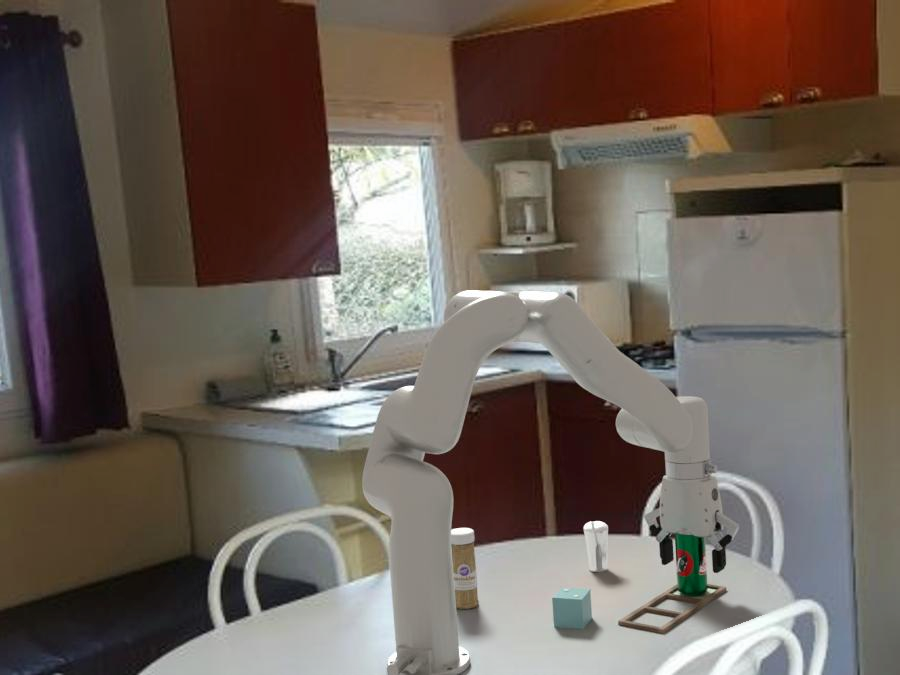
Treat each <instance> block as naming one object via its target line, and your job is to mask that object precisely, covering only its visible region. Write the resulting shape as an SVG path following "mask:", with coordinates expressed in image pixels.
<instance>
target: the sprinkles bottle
mask: <svg viewBox="0 0 900 675" xmlns="http://www.w3.org/2000/svg"><path fill="white" fill-rule="evenodd" d="M475 539H476V538H475V530H474V529H472V528H470V527H458V528H451V547H452V562H453V573H454V586H455V600H456V609H460V610H462V609H463V610H469V609H473V608H475V607H477V606H478V605H479V601H480V600H479V597H478V596H479V595H478V579H477V576H478V575H477V566H476V565H477V563H476V556H475Z"/></svg>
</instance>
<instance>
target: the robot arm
mask: <svg viewBox="0 0 900 675" xmlns="http://www.w3.org/2000/svg"><path fill="white" fill-rule="evenodd" d="M443 321H444V323H442V324H441V326H439V327H438V329H437V330H436V331H435V333H434V334H433V335H432V337H431V338H430V341H429V342H428V344H427V346H426V349H425V351H424V354H423V358H422V360H421V362H420V367H419V369H418V372H417V376H416V380H415V383H414V385H407V386H402V387H399V388H397V389H396V390H393V392H391V393H390V394H389V395H388V396H387V397H386V399H385V400H384V401H383V403H382V404H381V406H380V409H379V411H378V414H377V418H376V422H375V424H374V428H373V432H372V436H371V439H370V442H369V447H368V449H367V450H368V451H367V455H366V458H365V463H364V468H363V472H362V480H361V488H362V491H363V492H362V493H363V496H364V498H365V499H366V501H367V502H368V503H369V505H371V507H373V509H375V510H377V511H379V512H381V513H382V514H384V515H386V516H388V517H390V518H391V519H390V520H391V526H390V533H389V540H388V562H389V565H388V566H389V574H390V587H391V588H390V589H391V597H392V598H391V600H392V612H393V623H394V625H393V626H394V637H395V650H396V651H395V652H394V653H393V654H392V655H390V656H389V658H388V659H387V662H386V664H387V667H386V673H387V675H459V674H461V673H463V672H465V671H466V670H467V669H468V668H469V666H470V664H471V656H470V653H469V651H468V650H467V649H465V648H464V647H462V646H460V643H459V641H460V640H459V630H458V629H459V628H458V615H457V608H456V600H455V586H454V573H453V562H452V547H451V530H452V521H453V512H454V492H453V491H454V490H453V488H452V485H451V483H450V480H449V479H448V477H447V476H446V474H444V473H443V472H442V471H441V470H440V469H439V468H438V467H436V466H434V465H433V464H431V463H429V462H426V461H424V459H425V455H426V454H431V455H442V454H445V453H447V452H449V451H451V450H452V449H453V448H454V447H456V444H457V443H458V442H459V440H460V437H461V434H462V430H463V426H464V422H465V419H466V415H467V410H468V407H469V402H470V399H471V395H472V391H473V387H474V384H475V381H476V378H477V375H478V373H479V370H480V369H481V366H482V364H483V362H484V361H485V360H486V359H487V358H488V357H489V356H490V355H491V354H492V353H494V351H496V350H497V349H499V348H501V347H504V346H506V345H509V344H512V343H533V344H534V343H535V344H541V345H542V346H543V347H544V348H546V350H547V351H548V352H549V354H550V355H552V357H553V358H554V359H555V360H556V361H557V362H558V363H559V364H560V365H561V366H562V367H563V368H564V370H565V371H566V372H567V373H568V374H569V376H570V377H571V378H572V379H573V380H574V381H575V382H576V383H577V384H578V385H579V386H580V387H581V388H583V390H586V391H588V393H591V394H592V395H594V396H595V397H598V398H600V399H603V400H604V401H607V402H609V403H612V404H614V405H616V406H617V407H619V408H621V409H620V410H619V412H618V413H617V415H616V418H615V428H616V432H617V434H618V435H619V436H620V438H621V439H622V440H623V441H625V442H626V443H629V444H632V445H635V446H638V447H642V448H647V449H650V450H656V451H661V452H664V463H665V464H664V465H665V467H664V468H665V475H663V477H662V481H661V486H660V496H659V507H658V508H656V509H654V510H651V511H650V512H648V513H645V514H644V516H643V518H644V520H645V521H646V523H647V525H648V527H649V528H648V529H649V531H650V532H651V533H652V535H653V536H654V537H655V540H656V542H657V543H659V544H658V545H659V558H660V559H661V565H662V566H666V565H668V564H670V563H672V562H673V561H674V558H675V557H674V541H673V538H671V535H675V533H676V532H677V531H679V530H680V528H686V529H688V531H689V532H691V533H692V534H693V535H694V536H696V537H701V538H705V539H707V540H708V541H709V542H710V544H711V545H712V546H713V548H714V549H712V550H711V562H712V563H711V565H712V573H714V574H719V573H720V572H721V571H723V570H724V569H725V567H726V566H727V552H726V548H727V547H728V545H729V544H730V543H732V541H734V540H735V537H736V535H737V533H738V532H739V529H740V524H739V523H737V522H735V521H734V520H733V519H731V518H730V517H728V516H727V515H725V514H724V513H723V505H722V504H723V503H722V498H721V497H722V496H721V493H720V488H719V485H718V481H717V478H716V476H715V475H714V476H713V475H712V474H716V473H718V465H716V464H713V463H712V459H711V456H710V455H711V453H710V432H709V431H710V430H709V414H708V413H709V412H708V403H707V402H706V401H705V400H704V399H703V398H701V397H699V396H689V395H688V396H684V395H683V396H675V395H674V393H673V392H672V391H671V390H670V389H669V388H668V387H667V386H666V385H665V384H664V383H663V382H662V381H661V380H659V379H658V378H657V377H655V376H654V375H653V374H651V373H650V372H649V371H647V370H646V369H645V368H644V367H641V366H640V365H639V364H638V363H637V362H635V361H634V360H633V359H631V358H630V357H628V356H627V355H625V354H624V353H623V352H621V351H620V350H619V348H617V347H616V346H615V344H614V343H613V342H612V341H611V340H610V339H609V338H608V336H606V334H605V333H604V332H603V331H602V330H601V329H600V327H599V326H598V325H597V324H596V322H595V321H594V320H593V319H592V317H590V315H589V314H588V313H587V312H586V311H585V310H584V309H583V307H582V306H581V305H580V304H579V303H578V302H577V301H576V300H575V299H574V298H573V297H571V296H570V295H568V294H566V293H563V292H559V291H558V292H556V291H538V290H537V291H535V290H534V291H533V290H532V291H531V290H528V291H526V290H525V291H499V290H464V291H460V292H459V293H456V294H455V295H453V297H451V299H450V300H449V301H448V303H447V304H446V305H445V308H444V312H443ZM658 517H659V523H660V524H659V523H658V522H657V518H658ZM724 528H726V534H725V535H724V534H723V533H722V531H723V530H724Z"/></svg>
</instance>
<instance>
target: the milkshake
mask: <svg viewBox="0 0 900 675" xmlns="http://www.w3.org/2000/svg"><path fill="white" fill-rule="evenodd" d="M583 533H584V538H585V540H584V541H585V545H586V554H587V561H588V568H589V571H590V572H592V573H603V572H606V571H607V570H608V541H609V540H608V538H609V525H608V524H606V522H603V521H600V520H595V521H588V522H586V523H585V524H584V525H583Z"/></svg>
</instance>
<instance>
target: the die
mask: <svg viewBox="0 0 900 675" xmlns="http://www.w3.org/2000/svg"><path fill="white" fill-rule="evenodd" d="M591 599H592V597H591V589H590V588H573V587H560V588H559V589H558V590H557V592H556V593H555V594H554V595H553V596H552V597H551V600H552V601H551V602H552V614H553V615H552V616H553V627H555V628H568V629H577V630H578V629H579V630H584V629H585V628H586V627H587V625H588V624H589V623H590V621H591V620H592V619H593V614H592V600H591Z"/></svg>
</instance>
